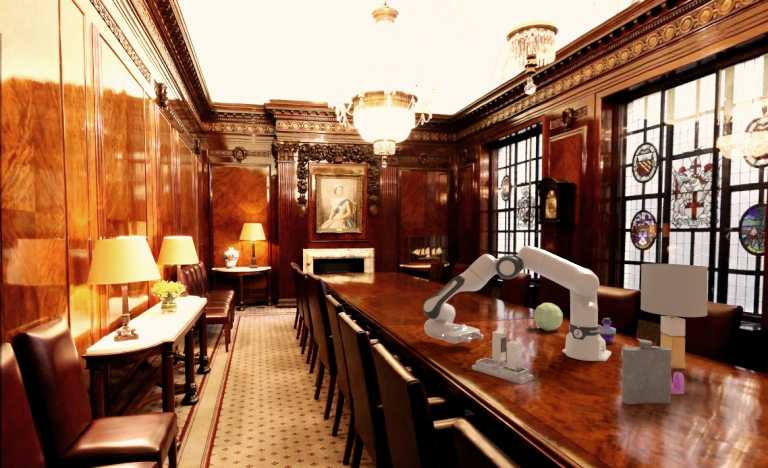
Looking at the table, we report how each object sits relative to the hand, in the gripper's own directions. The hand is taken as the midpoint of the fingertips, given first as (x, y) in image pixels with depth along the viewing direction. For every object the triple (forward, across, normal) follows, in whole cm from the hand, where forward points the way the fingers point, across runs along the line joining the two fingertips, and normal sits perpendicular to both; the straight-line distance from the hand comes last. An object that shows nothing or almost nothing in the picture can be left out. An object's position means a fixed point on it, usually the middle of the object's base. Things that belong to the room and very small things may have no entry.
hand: (476, 338), depth 192 cm
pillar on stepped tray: (+23, -15, +7) cm, 28 cm away
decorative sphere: (-1, +69, +7) cm, 69 cm away
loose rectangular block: (+12, 0, +7) cm, 14 cm away
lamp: (+64, +48, +7) cm, 80 cm away
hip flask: (+69, -2, +7) cm, 69 cm away
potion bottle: (+31, +67, +7) cm, 74 cm away
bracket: (+69, +18, +8) cm, 72 cm away
